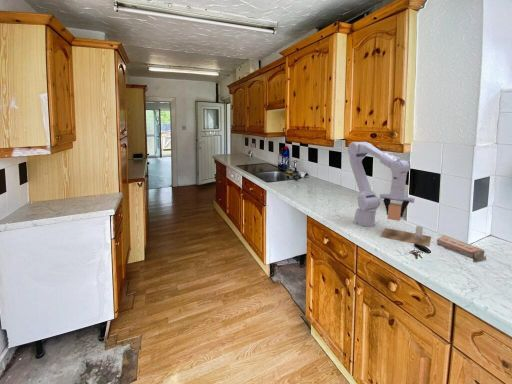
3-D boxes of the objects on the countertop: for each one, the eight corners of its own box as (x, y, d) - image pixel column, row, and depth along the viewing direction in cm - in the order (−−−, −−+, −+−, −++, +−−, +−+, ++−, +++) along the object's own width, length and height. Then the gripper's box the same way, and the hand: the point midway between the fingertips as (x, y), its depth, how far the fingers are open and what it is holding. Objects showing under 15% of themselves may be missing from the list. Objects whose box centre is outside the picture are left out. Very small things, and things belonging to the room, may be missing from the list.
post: (414, 239, 137) (416, 227, 136) (414, 237, 139) (416, 225, 138) (420, 240, 136) (422, 228, 135) (421, 238, 138) (423, 227, 137)
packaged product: (489, 248, 120) (472, 252, 117) (487, 260, 121) (470, 264, 118) (446, 233, 136) (430, 236, 133) (444, 243, 138) (429, 246, 134)
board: (379, 239, 140) (379, 236, 140) (385, 230, 151) (385, 227, 151) (429, 249, 130) (429, 246, 129) (430, 239, 141) (431, 236, 141)
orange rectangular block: (387, 218, 141) (388, 205, 139) (389, 216, 145) (390, 202, 143) (399, 220, 138) (401, 206, 136) (401, 218, 142) (402, 204, 141)
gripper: (379, 186, 138) (376, 214, 141) (414, 190, 131) (410, 220, 134) (382, 183, 144) (379, 211, 147) (416, 187, 137) (412, 216, 140)
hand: (394, 215), depth 141 cm, fingers closed on orange rectangular block, 5 cm apart
